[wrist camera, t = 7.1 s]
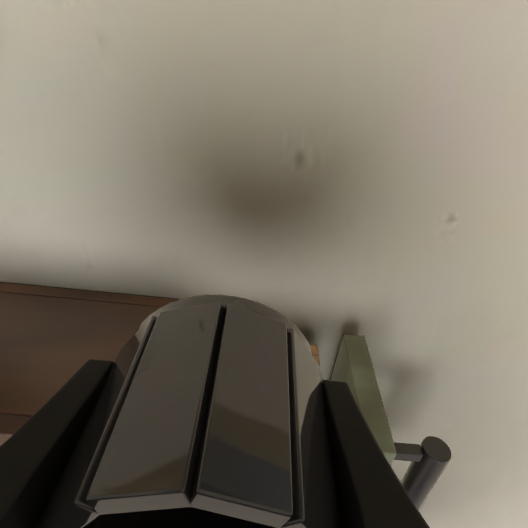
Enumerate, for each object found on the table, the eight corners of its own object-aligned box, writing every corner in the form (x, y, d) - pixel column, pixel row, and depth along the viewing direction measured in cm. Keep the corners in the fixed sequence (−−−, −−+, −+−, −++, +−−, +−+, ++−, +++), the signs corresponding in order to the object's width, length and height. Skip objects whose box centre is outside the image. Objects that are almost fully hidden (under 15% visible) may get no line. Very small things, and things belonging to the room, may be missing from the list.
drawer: (441, 343, 21) (503, 462, 16) (382, 468, 28) (410, 585, 22) (115, 312, 21) (54, 425, 15) (134, 448, 27) (96, 562, 22)
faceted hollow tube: (330, 415, 12) (358, 619, 8) (163, 434, 13) (110, 630, 9) (303, 275, 10) (324, 478, 5) (92, 310, 10) (-35, 511, 6)
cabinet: (180, 299, 21) (130, 444, 14) (183, 445, 29) (151, 590, 21) (-92, 273, 21) (-289, 409, 14) (-19, 428, 28) (-121, 571, 21)
